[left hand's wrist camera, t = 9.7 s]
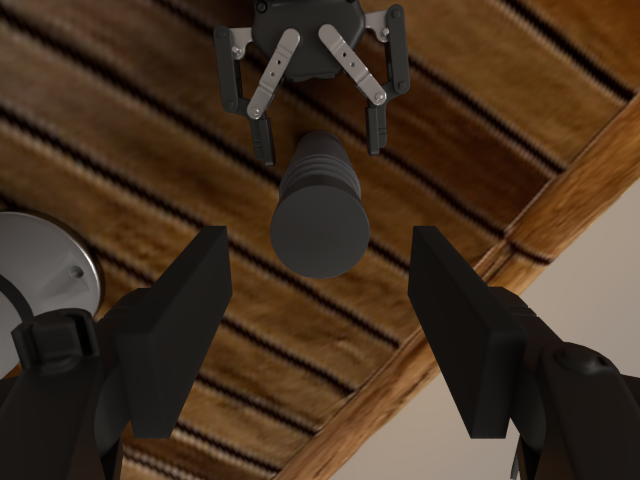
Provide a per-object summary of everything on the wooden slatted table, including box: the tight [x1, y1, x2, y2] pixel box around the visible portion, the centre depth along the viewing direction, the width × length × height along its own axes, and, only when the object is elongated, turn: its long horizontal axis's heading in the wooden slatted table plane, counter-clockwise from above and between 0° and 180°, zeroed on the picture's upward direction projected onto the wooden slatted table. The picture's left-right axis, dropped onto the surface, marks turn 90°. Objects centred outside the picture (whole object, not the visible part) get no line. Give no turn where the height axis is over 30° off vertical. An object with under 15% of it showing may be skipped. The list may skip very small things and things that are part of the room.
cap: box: [270, 175, 370, 279], centre depth 18 cm, size 4×4×2 cm
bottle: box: [279, 130, 361, 200], centre depth 28 cm, size 5×5×23 cm
